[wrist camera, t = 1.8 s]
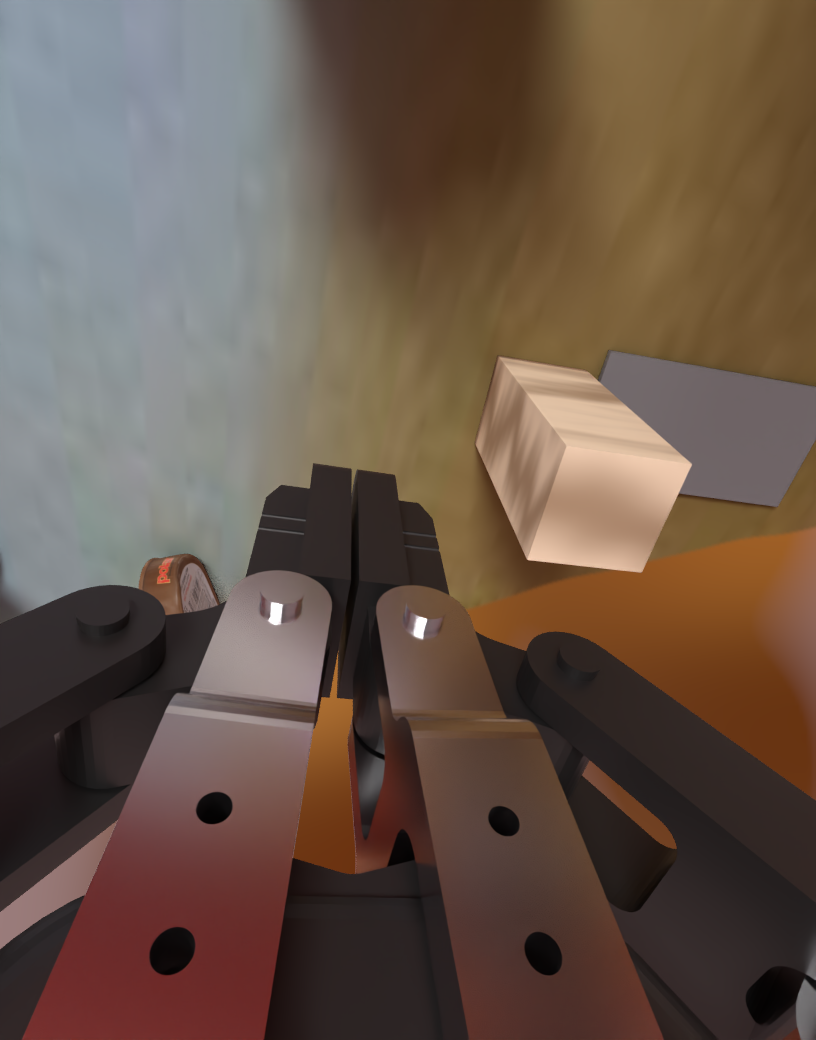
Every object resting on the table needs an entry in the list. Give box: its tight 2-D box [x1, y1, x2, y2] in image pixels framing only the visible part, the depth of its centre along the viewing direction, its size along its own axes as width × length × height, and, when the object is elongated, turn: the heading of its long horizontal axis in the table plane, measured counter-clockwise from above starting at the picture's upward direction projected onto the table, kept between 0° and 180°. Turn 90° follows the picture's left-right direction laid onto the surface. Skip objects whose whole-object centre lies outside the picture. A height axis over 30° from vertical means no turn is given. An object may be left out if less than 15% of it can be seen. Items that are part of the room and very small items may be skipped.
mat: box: [598, 350, 816, 507], centre depth 42 cm, size 9×17×1 cm, turn 79°
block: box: [475, 355, 692, 572], centre depth 34 cm, size 6×6×14 cm
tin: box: [139, 554, 220, 615], centre depth 43 cm, size 15×3×8 cm, turn 8°
